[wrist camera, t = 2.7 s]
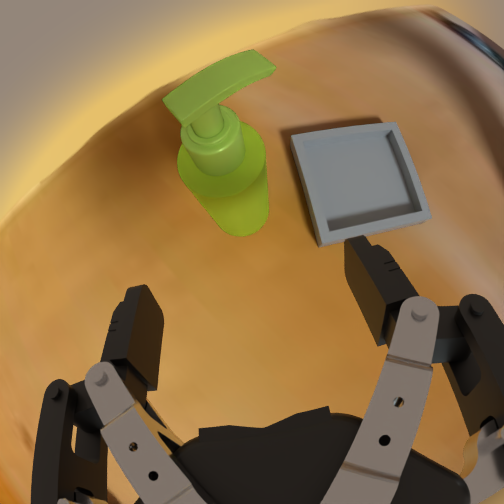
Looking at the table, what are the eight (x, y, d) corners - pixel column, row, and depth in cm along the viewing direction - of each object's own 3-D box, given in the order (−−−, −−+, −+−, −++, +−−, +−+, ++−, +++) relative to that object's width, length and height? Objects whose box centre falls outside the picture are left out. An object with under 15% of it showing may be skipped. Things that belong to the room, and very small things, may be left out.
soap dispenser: (287, 208, 31) (306, 84, 11) (235, 247, 31) (172, 172, 11) (254, 168, 32) (229, 26, 12) (203, 205, 32) (117, 95, 12)
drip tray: (389, 131, 31) (395, 121, 29) (422, 222, 30) (432, 218, 27) (290, 145, 32) (291, 135, 30) (318, 247, 30) (322, 243, 28)
